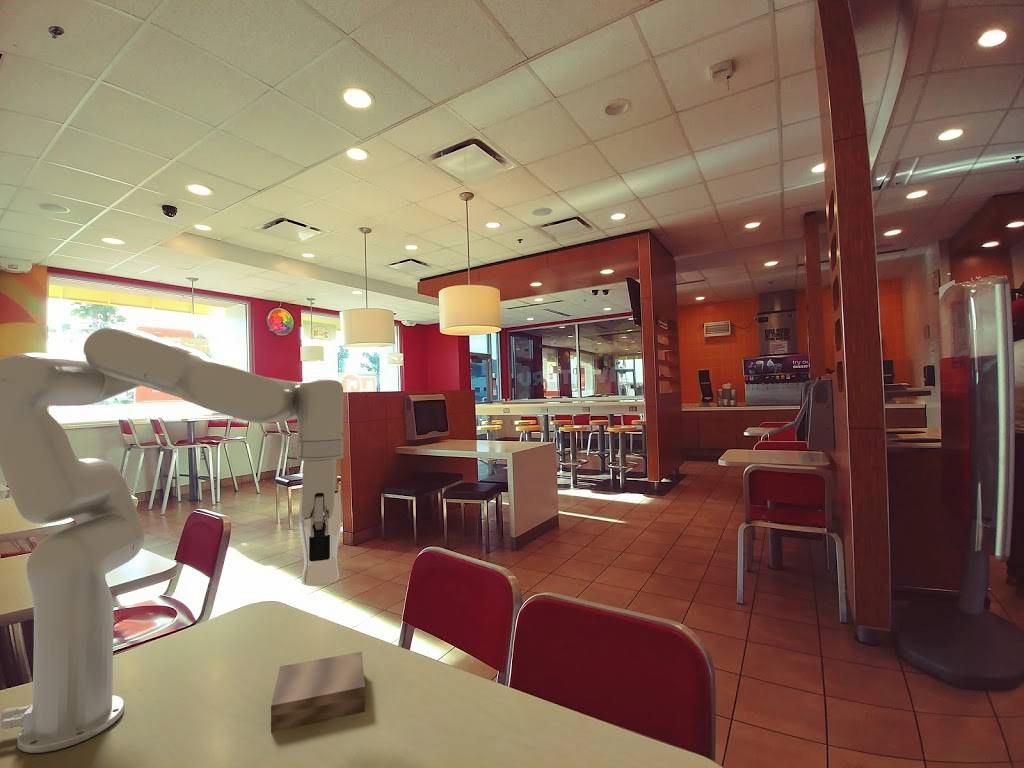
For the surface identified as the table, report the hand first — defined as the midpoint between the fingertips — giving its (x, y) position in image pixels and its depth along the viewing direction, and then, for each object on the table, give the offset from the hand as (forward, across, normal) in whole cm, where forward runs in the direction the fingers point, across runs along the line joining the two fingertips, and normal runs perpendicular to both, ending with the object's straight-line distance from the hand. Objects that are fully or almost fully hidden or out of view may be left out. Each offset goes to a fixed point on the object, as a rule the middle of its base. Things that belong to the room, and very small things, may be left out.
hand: (320, 553), depth 84 cm
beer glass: (+5, 0, 0) cm, 5 cm away
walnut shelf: (+25, 0, 0) cm, 25 cm away
